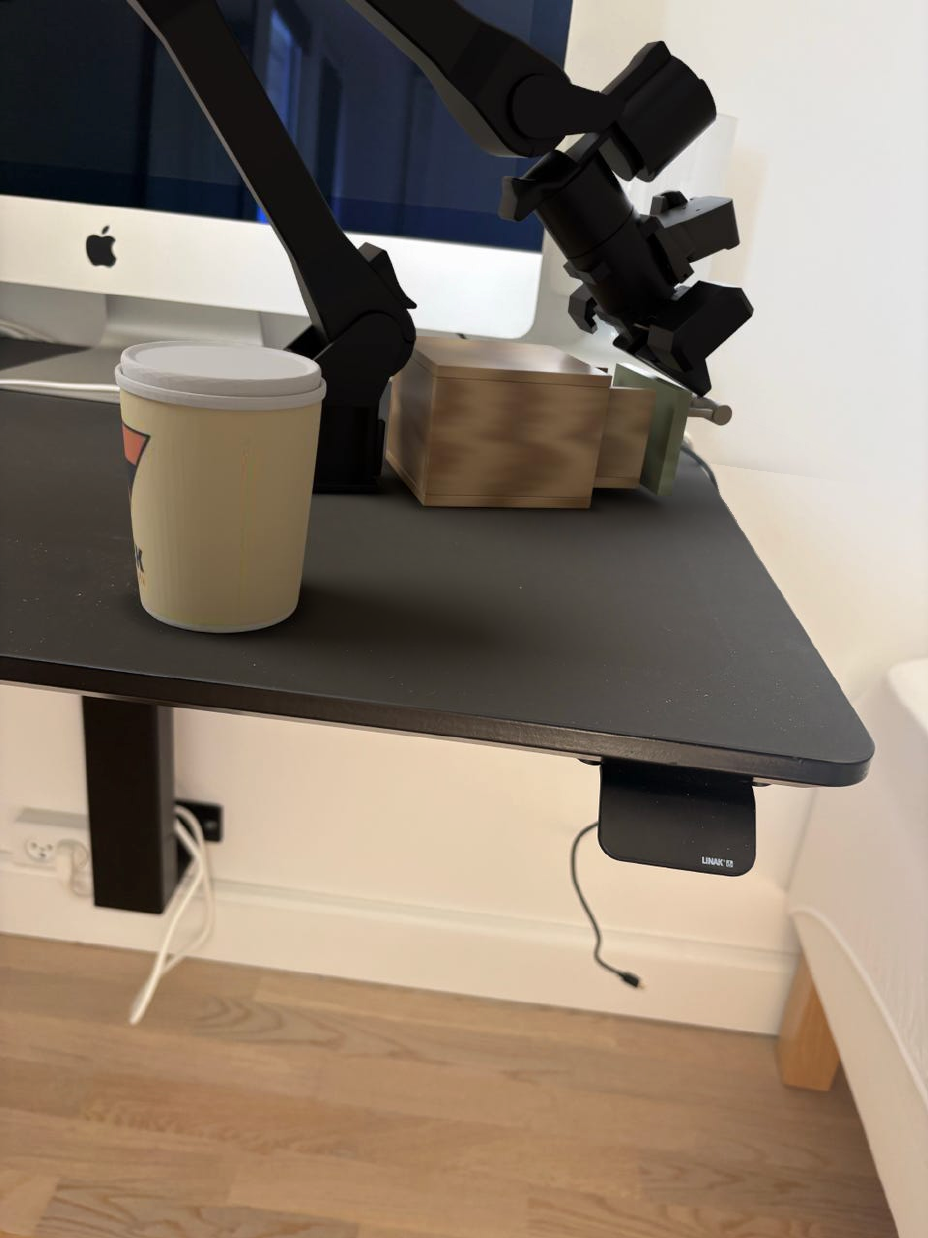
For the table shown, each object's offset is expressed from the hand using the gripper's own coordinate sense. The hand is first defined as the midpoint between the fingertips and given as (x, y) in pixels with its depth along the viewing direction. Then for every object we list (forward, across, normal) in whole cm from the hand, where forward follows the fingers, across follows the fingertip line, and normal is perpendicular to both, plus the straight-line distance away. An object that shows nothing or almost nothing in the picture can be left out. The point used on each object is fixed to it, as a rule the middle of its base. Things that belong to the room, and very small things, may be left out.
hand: (705, 392), depth 76 cm
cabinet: (-7, 0, +18) cm, 19 cm away
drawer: (-1, 0, +10) cm, 10 cm away
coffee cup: (-22, -21, +32) cm, 44 cm away
